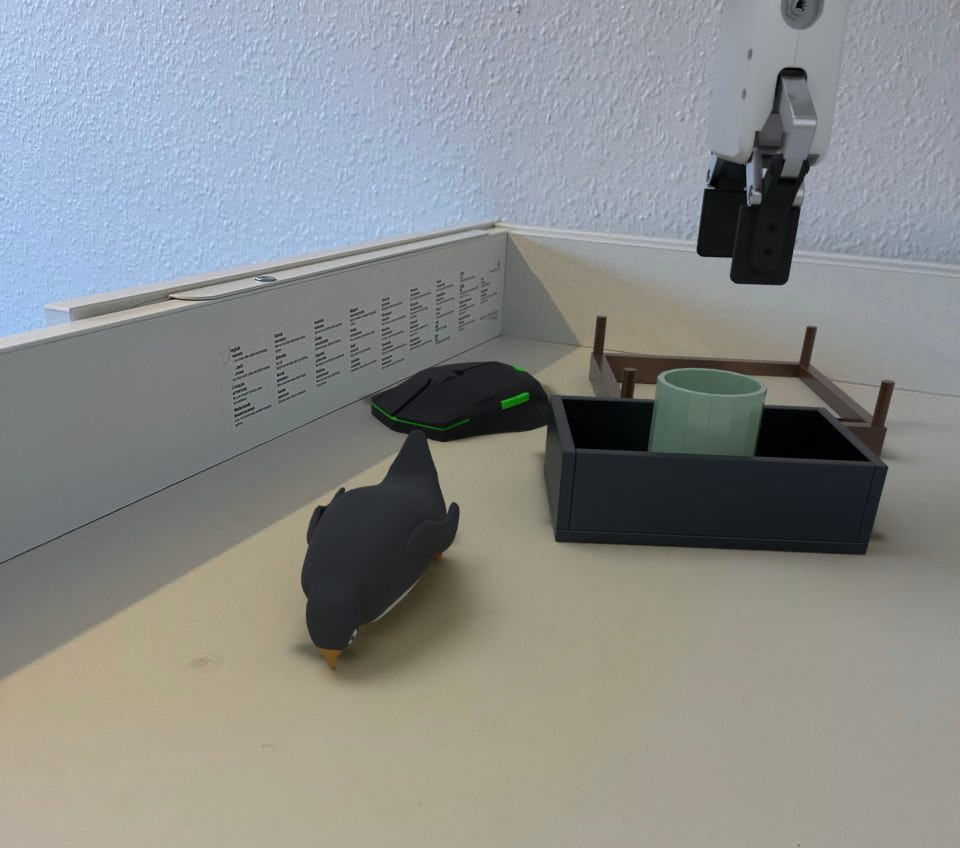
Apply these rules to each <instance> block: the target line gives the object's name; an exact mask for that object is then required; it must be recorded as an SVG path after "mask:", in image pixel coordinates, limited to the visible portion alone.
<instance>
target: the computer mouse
mask: <svg viewBox="0 0 960 848" xmlns="http://www.w3.org/2000/svg"><path fill="white" fill-rule="evenodd" d="M370 398H371V399H370V400H371V404H370V405H371V415H372V416H373V417H374V418H376V419H377V420H378V421H379V422H381V423H382V424H383V425H385V426H386V427H387V428H388V429H390V430H393V431H394V432H399V433H404V434H408V435H409V434H410V433H411V432H412V431H413V430H421V431H423V432H424V434H425V436H426V438H427V439H430V440H434V441H437V442H438V441H439V442H448V441H453V440H459V439H465V438H471V437H475V436H483V435H491V434H498V433H499V432H500V433H511V431H514V432H523V431H522V430H525V431H530V429H531V430H534V429H536V428H535V427H537V428H540V427H543V426H547V424H548V412H549V400H550V398H549V395H548V393H547V392H546V391H545V389H544V387H543V386H542V384H541V383H540V381H539V380H538V379H537V378H536V377H534V376H533V375H532V374H531V373H529V372H528V371H527V370H526V369H524V368H522V367H518V366H515V365H512V364H508V363H505V362H502V361H501V362H500V361H497V360H495V361H494V360H492V361H489V360H488V361H466V362H458V363H457V362H456V363H450V364H443V365H442V364H441V365H437V366H432V367H428V368H425V369H423V370H420V371H418V372H417V373H415V374H414V375H412V376H410V377H408V378H407V379H405V380H404V381H403V382H400V383H399V384H398V385H396V386H394V387H391V388H388V389H386V390H383V391H381V392H379V393H376V394H374V395H372V396H370ZM542 425H543V426H542ZM539 426H540V427H539ZM533 428H534V429H533ZM496 432H497V433H496ZM500 433H499V434H500Z"/></svg>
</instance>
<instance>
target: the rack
mask: <svg viewBox="0 0 960 848" xmlns="http://www.w3.org/2000/svg"><path fill="white" fill-rule="evenodd" d="M607 322H608V316H606V315H602V314H601V315H596V317H595V328H594V338H593V349H592V351H591V352H590V361H589V370H588V371H589V372H588V380H589V381H590V384H591V387H592V389H593V392H594V394H595V397H612V398H634V395H635V387H636V383H637V384H656V385H657V378H658V376H659V375H660V374H661V373H662V372H665V371H669V370H673V369H683V368H703V369H716V370H723V371H731V372H735V373H739V374H743V375H747V376H757V377H778V378H798V379H799V381H801V382H802V383H803V384H804V385H805V386H806V387H807V388H808V389H809V390H811V391H812V392H813V393H814V394H815V395H816V396H817V397H818V398H819V399H821V401H823V402H824V403H825V404H826V405H827V406H828V407H829V408H830V409H832V410H833V411H834V412H835V413H836V414H837V415H838V416H839V417H836V418H837V419H838V420H839V421H840V422H841V423H842V424H843V425H844V426H845V427H846V428H847V429H848V430H850V431H851V432H852V433H853V434H854V435H855V436H856V437H857V438H858V439H859V440H860V441H861V442H863V443H864V444H865V445H866V446H867V447H868V448H869V449H870V450H871V451H872V452H873V453H874V454H875V455H877V456H878V457H879V458H880V459H881V455H882V450H883V447H884V442H885V440H886V435H887V431H888V427H887V426H885V424H886V421H887V416H888V413H889V409H890V405H891V401H892V397H893V393H894V389H895V385H896V382H895V381H894V380H890V379H882V380H881V381H880V386H879V390H878V395H877V398H876V402H875V406H874V411H873V414H871V413H870V412H869V411H868V410H867V409H865V407H863V406H861V404H859V403H858V402H857V401H856V400H854V399H853V398H852V397H851V396H850V395H849V394H847V393H846V392H844V391H843V390H842V389H841V388H840V387H838V385H836V383H834V382H833V381H832V380H830V379H829V378H828V377H827V376H825V374H823V373H822V372H821V371H820V370H818V368H816V367H815V366H813V364H811V359H812V356H813V352H814V347H815V341H816V340H815V339H816V336H817V330H818V326H816V325H806V327H805V333H804V337H803V341H802V347H801V352H800V356H799V360H798V361H792V360H791V361H790V360H788V361H787V360H768V359H751V358H750V359H749V358H747V359H745V358H731V357H730V358H729V357H728V358H726V357H710V356H709V357H706V356H688V355H687V356H686V355H685V356H684V355H665V354H644V353H643V354H642V353H625V352H623V353H622V352H621V353H620V352H604V351H605V340H606V333H607V332H606V331H607ZM619 383H621V387H620V385H619Z"/></svg>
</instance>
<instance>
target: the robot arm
mask: <svg viewBox="0 0 960 848" xmlns="http://www.w3.org/2000/svg"><path fill="white" fill-rule="evenodd" d="M849 3H850V0H723V3H722V5H723V9H722V10H723V11H722V16H721V21H720V29H719V34H718V42H717V48H716V55H715V62H714V69H713V77H712V83H711V91H710V101H709V108H708V118H707V133H706V142H707V143H706V144H707V148H708V149H709V151H710V155H711V159H710V161H709V164H708V168H707V172H706V178H705V186H706V187H705V188H703V194H702V195H703V196H702V204H701V210H700V219H699V225H698V234H697V240H696V248H695V249H696V251H695V252H696V254H697V255H698V256H700V258H717V259H718V258H722V259H731V264H730V270H729V279H730V281H731V282H732V283H734V284H736V285H756V286H757V285H758V286H784V285H786V284H787V283H788V281H789V279H790V274H791V267H792V261H793V256H794V252H795V251H794V250H795V246H796V240H797V235H798V228H799V224H800V223H799V222H800V217H801V211H802V206H803V204H804V200H805V193H806V189H805V188H806V187H805V178H806V176H807V175H808V174H809V172H810V169H811V167H812V168H813V167H816V166H818V165H819V164H820V163H821V162H822V161H823V160H824V159H825V158H826V156H827V154H828V152H829V147H830V142H831V137H832V136H831V135H832V129H833V123H834V116H835V109H836V103H837V96H838V88H839V83H840V82H839V81H840V75H841V67H842V60H843V52H844V45H845V38H846V30H847V21H848V12H849ZM763 169H764V170H765V169H766V171H765V173H764V170H763Z"/></svg>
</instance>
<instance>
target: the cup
mask: <svg viewBox="0 0 960 848" xmlns="http://www.w3.org/2000/svg"><path fill="white" fill-rule="evenodd" d="M767 393H768V385H766V383H765V382H763V381H762V380H760V379H758V378H755V377H753V376H752V375H743V374H739V373H735V372H731V371H723V370H716V369H703V368H683V369H673V370H669V371H665V372H662V373H661V374H660V375H659V376H658V378H657V384H656V386H655V393H654V399H655V400H654V407H653V415H652V422H651V430H650V437H649V445H648V452H665V453H687V454H709V455H731V456H753V457H755V452H756V446H757V441H758V436H759V431H760V425H761V420H762V415H763V410H764V405H766V404H765V403H766V399H767Z"/></svg>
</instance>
